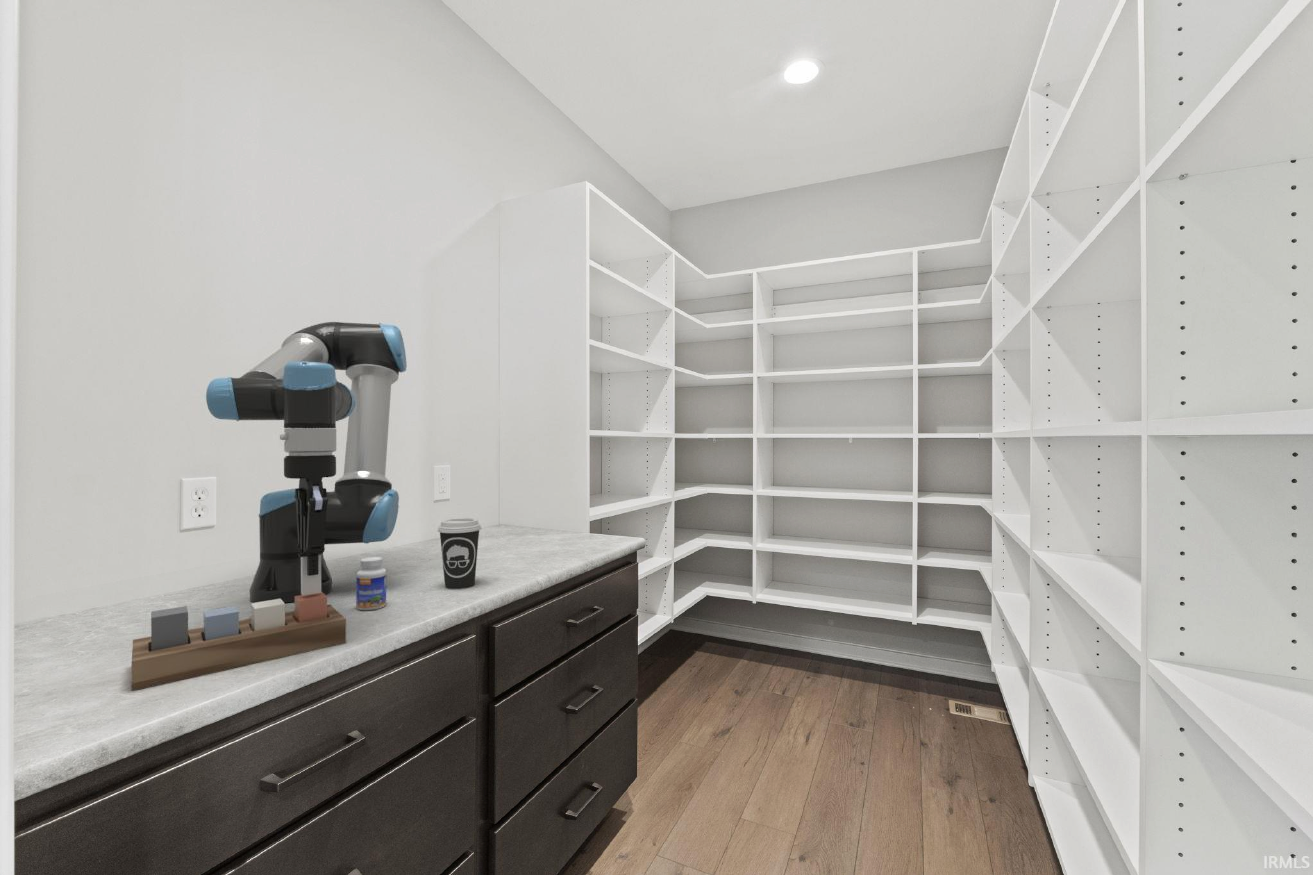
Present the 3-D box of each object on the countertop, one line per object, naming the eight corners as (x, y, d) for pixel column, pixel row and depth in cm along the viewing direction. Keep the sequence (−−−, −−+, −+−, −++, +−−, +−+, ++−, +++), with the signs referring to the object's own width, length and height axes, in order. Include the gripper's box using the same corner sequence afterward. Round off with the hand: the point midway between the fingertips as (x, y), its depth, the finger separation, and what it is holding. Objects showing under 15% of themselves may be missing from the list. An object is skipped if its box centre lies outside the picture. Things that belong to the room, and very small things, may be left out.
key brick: (294, 625, 94) (294, 596, 94) (321, 620, 97) (321, 591, 97) (299, 631, 91) (299, 601, 91) (327, 626, 94) (327, 596, 94)
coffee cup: (490, 583, 130) (490, 519, 130) (455, 593, 122) (455, 524, 122) (463, 578, 136) (463, 516, 136) (428, 587, 128) (428, 521, 128)
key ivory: (251, 634, 90) (251, 603, 90) (280, 628, 93) (280, 598, 93) (254, 640, 87) (254, 608, 87) (284, 634, 90) (284, 603, 90)
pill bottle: (355, 612, 109) (355, 563, 109) (356, 605, 114) (356, 557, 114) (386, 608, 111) (386, 560, 111) (386, 601, 116) (385, 555, 116)
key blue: (203, 643, 86) (203, 611, 86) (235, 637, 89) (235, 605, 89) (205, 650, 83) (205, 617, 83) (238, 643, 86) (238, 611, 86)
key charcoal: (151, 645, 82) (151, 611, 82) (186, 638, 85) (186, 605, 85) (151, 652, 79) (151, 617, 79) (188, 645, 82) (188, 611, 82)
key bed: (133, 666, 83) (133, 639, 83) (329, 626, 101) (329, 604, 101) (131, 690, 75) (131, 661, 75) (345, 642, 93) (345, 618, 93)
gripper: (277, 453, 97) (278, 589, 97) (291, 455, 87) (292, 606, 87) (326, 452, 102) (327, 581, 102) (345, 454, 92) (345, 597, 92)
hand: (311, 593), depth 94 cm, fingers closed
